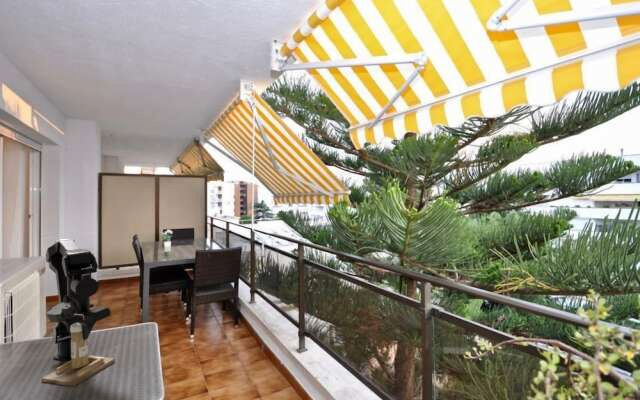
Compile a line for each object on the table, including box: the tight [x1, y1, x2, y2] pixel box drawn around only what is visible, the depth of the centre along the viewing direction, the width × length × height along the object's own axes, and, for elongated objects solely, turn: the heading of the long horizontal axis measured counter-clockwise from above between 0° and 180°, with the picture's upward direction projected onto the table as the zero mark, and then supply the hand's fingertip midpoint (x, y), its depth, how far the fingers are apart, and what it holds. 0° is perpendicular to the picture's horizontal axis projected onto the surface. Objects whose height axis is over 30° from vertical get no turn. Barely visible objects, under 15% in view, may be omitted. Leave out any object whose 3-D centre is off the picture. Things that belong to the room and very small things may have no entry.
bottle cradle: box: [41, 354, 115, 387], centre depth 100 cm, size 12×14×2 cm
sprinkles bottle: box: [70, 322, 89, 368], centre depth 99 cm, size 5×5×13 cm
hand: (79, 338), depth 99 cm, fingers closed on sprinkles bottle, 4 cm apart
